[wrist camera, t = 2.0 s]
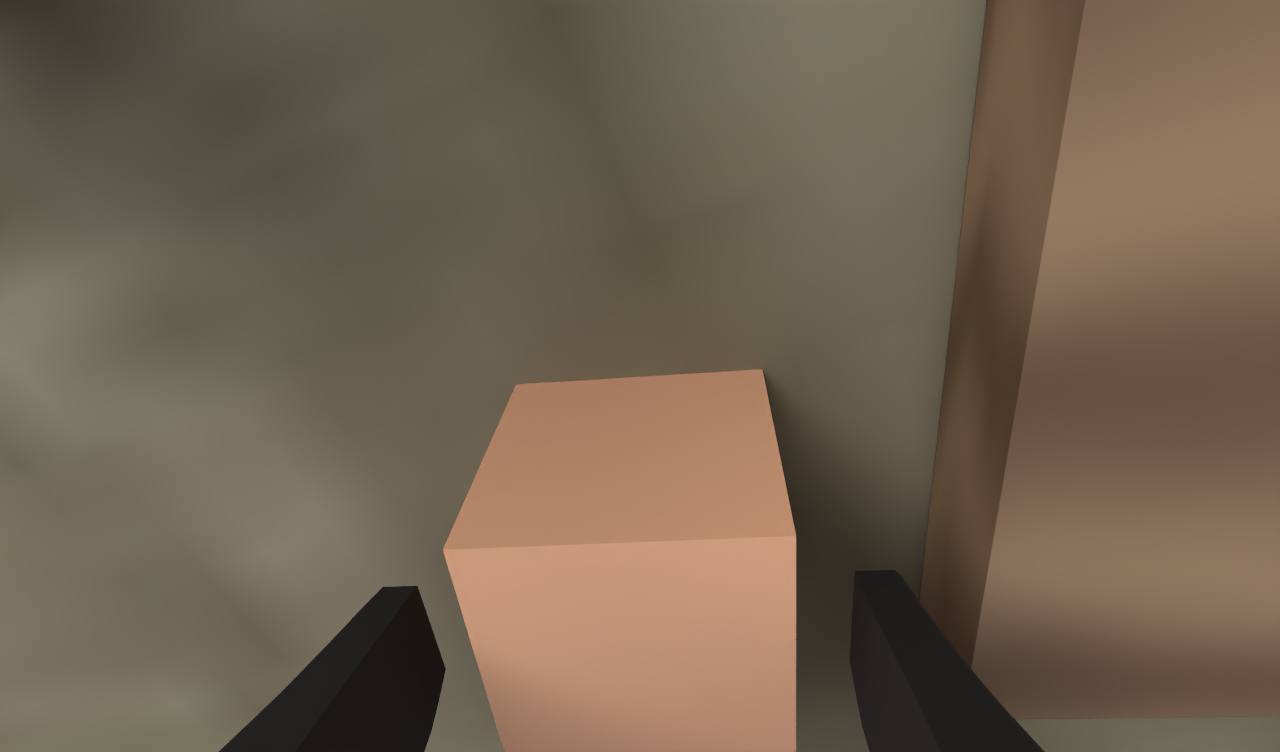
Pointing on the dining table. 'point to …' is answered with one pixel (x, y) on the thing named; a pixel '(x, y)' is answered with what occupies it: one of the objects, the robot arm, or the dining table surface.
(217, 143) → the dining table surface
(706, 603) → the terracotta cube
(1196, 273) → the walnut base
